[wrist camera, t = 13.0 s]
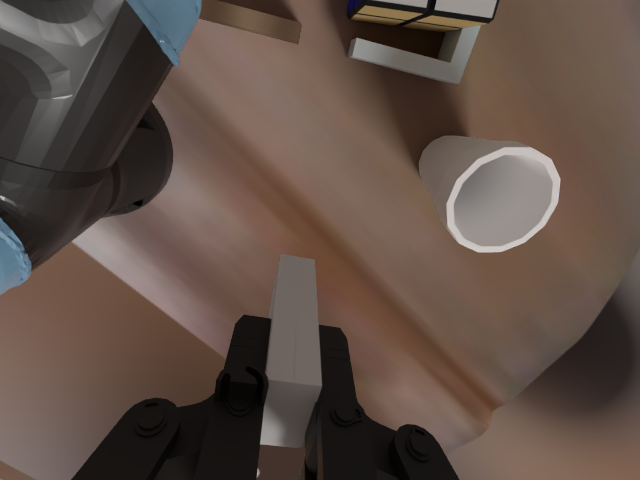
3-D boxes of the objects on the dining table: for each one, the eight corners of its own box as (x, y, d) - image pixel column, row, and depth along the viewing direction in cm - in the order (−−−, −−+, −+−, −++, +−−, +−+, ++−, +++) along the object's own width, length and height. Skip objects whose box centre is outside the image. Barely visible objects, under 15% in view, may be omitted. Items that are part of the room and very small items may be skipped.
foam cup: (418, 212, 43) (461, 267, 31) (393, 144, 39) (432, 179, 27) (493, 180, 41) (567, 225, 30) (475, 105, 37) (552, 125, 26)
